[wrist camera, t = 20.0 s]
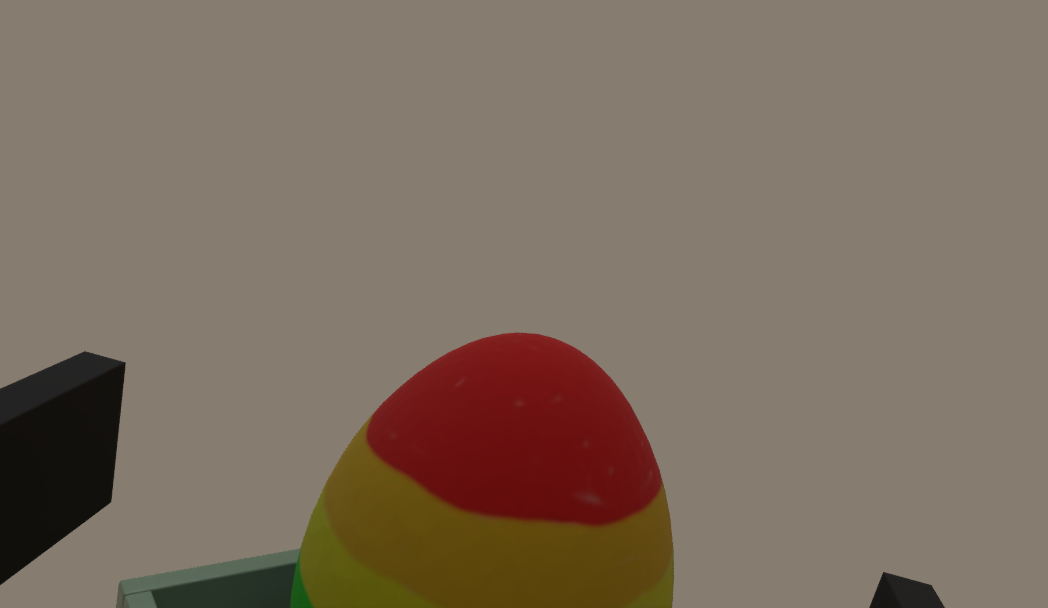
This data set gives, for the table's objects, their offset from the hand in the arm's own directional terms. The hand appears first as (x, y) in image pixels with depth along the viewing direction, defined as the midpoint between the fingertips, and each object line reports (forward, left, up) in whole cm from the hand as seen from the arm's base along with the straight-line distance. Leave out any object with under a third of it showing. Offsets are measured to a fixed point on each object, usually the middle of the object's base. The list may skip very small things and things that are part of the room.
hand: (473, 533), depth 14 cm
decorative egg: (+3, +2, -8) cm, 9 cm away
